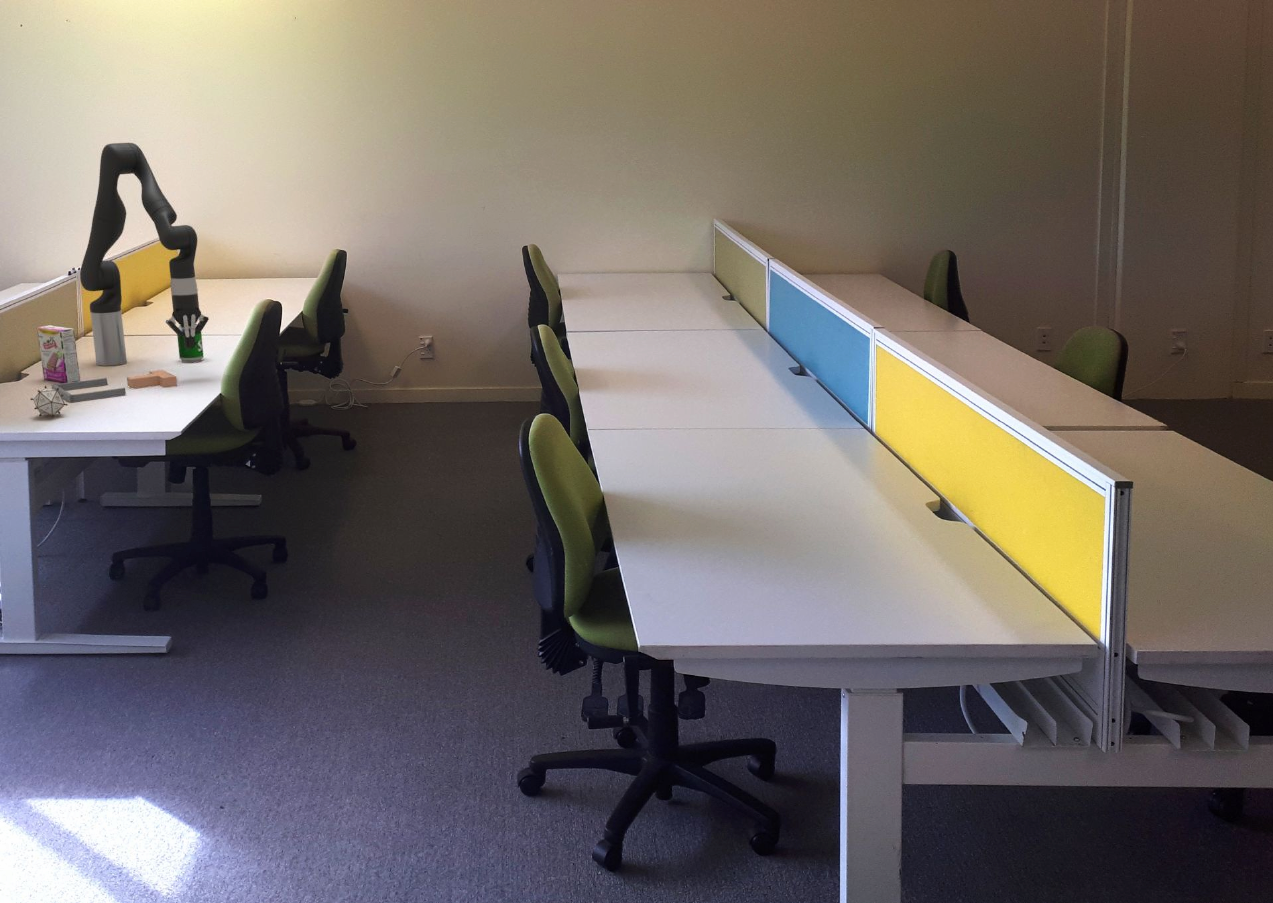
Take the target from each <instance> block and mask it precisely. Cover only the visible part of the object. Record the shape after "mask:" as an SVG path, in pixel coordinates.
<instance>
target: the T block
mask: <svg viewBox="0 0 1273 903" xmlns="http://www.w3.org/2000/svg"><path fill="white" fill-rule="evenodd" d="M148 372H149V373H147V374H140V375H133V376H132V375H131V376H126V383H127V387H128V386H129V387H130V388H129V387H128V388H129V389H131V388H136V389H142V388H143V387H144V388H149V387H148V386H151V387H156V386H157V385H158V386H159V385H160V387H161V386H162V387H161V388H164V389H165V388H171V387H172V386H173V387H178V380H177V376H176V375H175V374H172V373H171V372H168V371H166V370H164V369H158V370H149V371H148ZM158 386H157V387H158ZM173 387H172V388H173Z"/></svg>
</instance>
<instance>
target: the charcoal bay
mask: <svg viewBox="0 0 1273 903" xmlns="http://www.w3.org/2000/svg"><path fill="white" fill-rule="evenodd" d="M102 386H108V378H107V377H103V378H94V379H87V380H86V379H85V380H80V381H76V382H70V383H62V382H61V383H55V384H51V389H54V390H57V388H59V390H58V392H59V393H60V395H62V394H63V395H64V396H63V397H62V398H63V400H66V401H67V402H68V403H77V402H85V401H91V400H99V398H100V399H106V398H107V397H108V398H113V397H112V396H115V397H122V396H126V395H127V392H126V387H121V388H113V389H105V390H98V391H91V392H90V391H89V392H83V393H82V392H81V393H75V394H72V393H70V392H68V391H72V390H79V389H80V390H81V389H86V388H94V387H102ZM125 394H126V395H125ZM121 395H122V396H121Z"/></svg>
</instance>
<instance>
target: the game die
mask: <svg viewBox="0 0 1273 903" xmlns="http://www.w3.org/2000/svg"><path fill="white" fill-rule="evenodd" d="M58 390H59V388H57V390H54V389H52V388H48V387H47V386H46V385H44V389H42V390H39V389H37V392H38V393H37V394H36V395H35V397H33V398H32V397H31V398H30V400H31V401H33V402H34V405H35V407H34V408H33V410H34V411H35V410H37V411H38V412H39V415H38V416H39V417H41V416H42V415H47V416H50V417H51V419H54V418H55V416H54V415H56V414H57V413H58V414H61V412H60V411H61V410H62V409H63V407H65V406H68V405H69V404H68V403H65V401H64V399H63V398H62V397H63V396H64V395H63V394H62V395H60V393H59V392H58Z"/></svg>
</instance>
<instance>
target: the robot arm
mask: <svg viewBox="0 0 1273 903" xmlns="http://www.w3.org/2000/svg"><path fill="white" fill-rule="evenodd" d="M129 174H130V175H131V174H132V175H135V177H136V178H137V180H138V181H139V183H140V185H141V198H140V199H141V203H142V206H143V208H144V210H145V212H146V213H147V215H148V217H149V218H150V219H151V221H152V222H153V224H154V227H155V229H156V232H157V236H158V239H159V242H160V243H161V245H162V246H163V247H164V248H165V249H166V250H169V251H179V253H178V255H177V256H174V257H172V258H171V259H169V263H168V264H169V265H168V266H169V276H170V292H171V293H170V294H171V302H172V303H171V304H172V312H171V313H172V314H171V317H170V318H169V319H166V320H165V323H166V324H167V325H168V326H169V328H170V329H172V331H173V332H174V333H175V334H176V335H180V336H183V337H184V344H185V347H187V349H194V347H195V335H197V334H200V333H201V334H202V331H203V329H204V328H205V326H206V325H207V323H208V322H209V319H210V318H209V316H205V315H204V314H202V311H201V310H200V304H199V291H198V290H199V288H198V284H197V280H196V279H197V278H196V272H195V271H196V270H195V259H196V252H197V247H198V235H197V232H196V230H195V228H193V226H191V225H188V224H183V225H181V224H180V225H173V224H174V223H176V221H177V219H178V215H177V212H176V211H175V209H174V207H172V205H171V203H170V202H169V201H168V198H167V197H166V196H165V194H164V193H163V191H162V189H161V188H160V186H159V184H158V181H157V180H156V176H155V175H154V173H153V171H152V168H151V166H150V165H149V162H148V160H147V158H146V156H145V154H144V153H143V150H142V149H141V147H140V146H139V145H137V144H136V143H133V142H118V143H117V142H116V143H115V142H114V143H107V144H106V145H104V147H103V149H102V151H101V154H100V163H99V177H98V178H99V179H98V187H97V188H98V189H97V195H96V200H95V206H94V210H93V215H92V221H91V227H90V228H91V229H90V233H89V238H88V243H87V247H86V250H85V253H84V256H83V260H82V262H81V267H80V272H79V275H80V276H79V278H80V280H79V281H80V284H81V286H82V288H83V289H84V290H86V291H87V292H99V291H100V292H102V293H101V294H100V295H99V297H98V298H96V299H95V300H93V301H91V302H90V304H89V312H90V320H91V328H92V329H91V330H92V336H93V347H94V353H95V354H94V355H95V363H96V365H97V366H103V367H104V366H107V367H108V366H110V367H111V366H119V364H120V365H123V364H126V363H127V362H128V361H127V352H126V343H125V333H124V325H123V324H124V323H123V322H124V321H123V317H122V306H121V305H122V300H123V299H122V282H121V272H120V269H119V267H118V264H116V262H114V261H113V260H104V258H105V257H106V254H107V253H108V252H109V251H110V249H111V248H112V247H113V246H114V245H115V244H116V243H117V241H118V240H119V239H120V237H121V235H122V234H123V232H124V230H125V224H126V219H127V209H126V207H125V204H124V201H123V200H122V198H121V196H120V193H119V191H118V182H119V178H120V175H129ZM176 322H177V323H178V324H179V325H181V329H182V331H181V330H180V329H179V328H178V327H179V326H178V325H176V324H177V323H176ZM195 324H198V325H197V326H196V328H195Z"/></svg>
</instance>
